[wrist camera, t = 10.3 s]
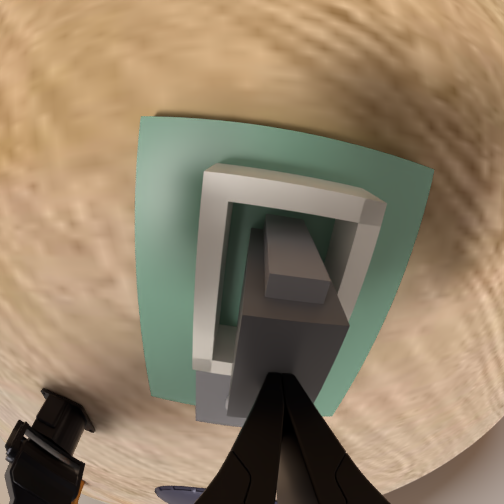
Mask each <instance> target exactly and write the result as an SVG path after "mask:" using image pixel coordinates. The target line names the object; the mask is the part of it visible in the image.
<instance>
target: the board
mask: <svg viewBox="0 0 504 504" xmlns="http://www.w3.org/2000/svg"><path fill="white" fill-rule="evenodd" d="M433 174H434V169H431V168H429V167H426V166H423V165H420V164H418V163H415V162H412V161H409V160H406V159H403V158H400V157H397V156H394V155H390V154H387V153H384V152H380V151H377V150H374V149H370V148H366V147H363V146H359V145H355V144H351V143H347V142H343V141H339V140H335V139H331V138H327V137H322V136H317V135H313V134H308V133H303V132H298V131H292V130H287V129H281V128H275V127H268V126H262V125H255V124H247V123H239V122H231V121H221V120H210V119H198V118H182V117H153V116H141V120H140V130H139V140H138V152H137V167H136V188H135V255H136V276H137V291H138V304H139V314H140V324H141V333H142V341H143V348H144V355H145V362H146V368H147V375H148V380H149V386H150V391H151V396H154V397H158V398H162V399H166V400H171V401H176V402H180V403H185V404H191V405H196V421H201V422H207V423H213V424H220V425H227V426H235V427H243V425H244V423H245V421H246V418H238V417H230V416H227V407H228V398H229V390H230V381H231V373H232V364H233V355H234V347H235V339H236V330H237V322H238V313H239V306H240V299H241V293H242V286H243V279H244V272H245V265H246V259H247V252H248V245H249V238H250V232H251V228H258V229H264V223H265V217H266V214H272V215H279V216H285V217H291V218H298V219H303V220H304V223H305V225H306V227H307V229H308V231H309V233H310V235H311V237H312V239H313V241H314V243H315V245H316V248H317V250H318V252H319V254H320V256H321V259H322V261H323V263H324V265H325V268H326V270H327V272H328V274H329V277H330V279H331V281H332V284H333V286H334V288H335V291H336V293H337V295H338V298H339V300H340V303H341V305H342V307H343V310H344V312H345V315H346V317H347V320H348V322H349V325H350V327H349V329H348V332H347V334H346V337H345V339H344V341H343V344H342V346H341V348H340V350H339V353H338V355H337V357H336V359H335V361H334V364H333V366H332V368H331V370H330V372H329V374H328V376H327V378H326V380H325V382H324V385H323V387H322V389H321V391H320V392H319V394H318V396H317V398H316V400H315V402H314V405H315V407H316V408H317V410H318V411H319V413H320V414H321V416H332V415H333V414H334V412H335V411H336V409H337V408H338V406H339V404H340V403H341V401H342V399H343V398H344V396H345V394H346V393H347V391H348V389H349V388H350V386H351V384H352V383H353V381H354V379H355V377H356V376H357V374H358V372H359V370H360V368H361V366H362V365H363V363H364V361H365V359H366V357H367V355H368V353H369V351H370V349H371V347H372V345H373V343H374V341H375V339H376V337H377V335H378V333H379V331H380V329H381V327H382V325H383V322H384V320H385V318H386V316H387V313H388V311H389V309H390V307H391V304H392V302H393V300H394V297H395V295H396V292H397V290H398V287H399V285H400V282H401V280H402V277H403V275H404V272H405V269H406V266H407V264H408V261H409V258H410V255H411V252H412V249H413V246H414V243H415V240H416V237H417V234H418V231H419V228H420V224H421V221H422V217H423V214H424V210H425V207H426V203H427V199H428V195H429V191H430V187H431V183H432V178H433Z"/></svg>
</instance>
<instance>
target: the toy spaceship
mask: <svg viewBox="0 0 504 504" xmlns="http://www.w3.org/2000/svg"><path fill="white" fill-rule="evenodd" d="M205 489H206V488H197V487H185V486H160V487H157V488H155V493H156V494H157V496H158V497H159V498H161V499H162V500H163V501H165V502H167V503H168V504H194V503H195V501H196V500H197V499H198V498H199V497H200V496H201V494H202V493H203V492H204V491H205ZM275 504H277V501H275Z"/></svg>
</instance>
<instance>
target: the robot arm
mask: <svg viewBox="0 0 504 504" xmlns="http://www.w3.org/2000/svg"><path fill="white" fill-rule="evenodd" d="M41 392H42V394H43V396H44V398H45V399H46V400H45V402H44V404H43V406H42V407H41V409H40V411H39V412H38V414H37V416H36V420H35V421H34V423H33V425H32V427H31V426H30V425H29V424H28V423H27V422H25V423H24V422H22V421H21V420H18V422H17V424H16V425H15V427H14V429H13V431H12V433H11V435H10V436H9V438H8V440H7V442H6V444H5V448H6V451H7V453H6V454H7V456H6V460H7V461H8V462H9V465H8V468H7V470H6V473H5V480H6V485H7V489H8V493H9V496H10V502H9V504H71V502H73V501H74V500H75V498H76V497H77V495H78V493H79V489H80V485H81V480H82V476H83V471H84V467H85V463H83V462H82V461H79V460H77V459H76V458H74V457H72V456H73V453H74V451H75V449H76V447H77V444H78V442H79V440H80V437H81V435H82V433H83V431H84V429H85V430H87V431H90V432H92V433H94V432H95V429H94V427H93V425H92V424H91V422H90V420H89V418H88V416H87V415H86V413H85V411H84V409H83V407H82V406H81V405H79V404H77V403H74V402H72V401H69V400H67V399H65V398H63V397H60V396H58V395H56V394H54V393H52V392H50V391H47V390H45V389H42V390H41ZM24 434H25V435H26V436H27V437H29V438H28V439H26V438H25V437H24ZM276 490H277V504H390V502H388V501H387V499H386V498H385V497H384V496H383V495H382V494H381V493H380V492H379V491H378V490H377V489H376V488H375V487H374V486H373V485H372V484H371V483H370V482H369V481H368V480H367V478H366V477H365V476H364V475H363V474H362V473H361V471H360V470H359V469H358V467H357V466H356V465H355V463H354V462H353V461H352V459H351V458H350V456H349V455H348V454H347V453H346V451H345V449H344V448H343V446H342V445H341V444H340V442H339V441H338V439H337V438H336V436H335V435H334V433H333V432H332V430H331V429H330V428H329V426H328V425H327V423H326V422H325V420H324V419H323V417H322V416H321V414H320V413H319V411H318V410H317V408H316V407H315V405H314V404H313V402H312V401H311V399H310V398H309V396H308V395H307V393H306V392H305V390H304V389H303V387H302V385H301V384H300V382H299V381H298V379H297V378H296V376H295V375H294V374H290V373H282V374H280V373H278V372H268V373H267V376H266V378H265V380H264V382H263V384H262V387H261V389H260V391H259V393H258V395H257V397H256V400H255V402H254V404H253V406H252V408H251V410H250V412H249V414H248V416H247V418H246V421H245V423H244V425H243V427H242V429H241V431H240V433H239V435H238V437H237V439H236V441H235V443H234V445H233V447H232V449H231V451H230V452H229V454H228V456H227V458H226V460H225V462H224V463H223V465H222V467H221V468H220V470H219V472H218V473H217V475H216V476H215V478H214V479H213V480H212V482H211V483H210V484H209V486H208V487H207V488H206V489H205V491H204V492H203V493H202V494H201V496H200V497H199V498H198V499H197V500H196V501H195V503H194V504H275V497H276Z"/></svg>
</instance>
